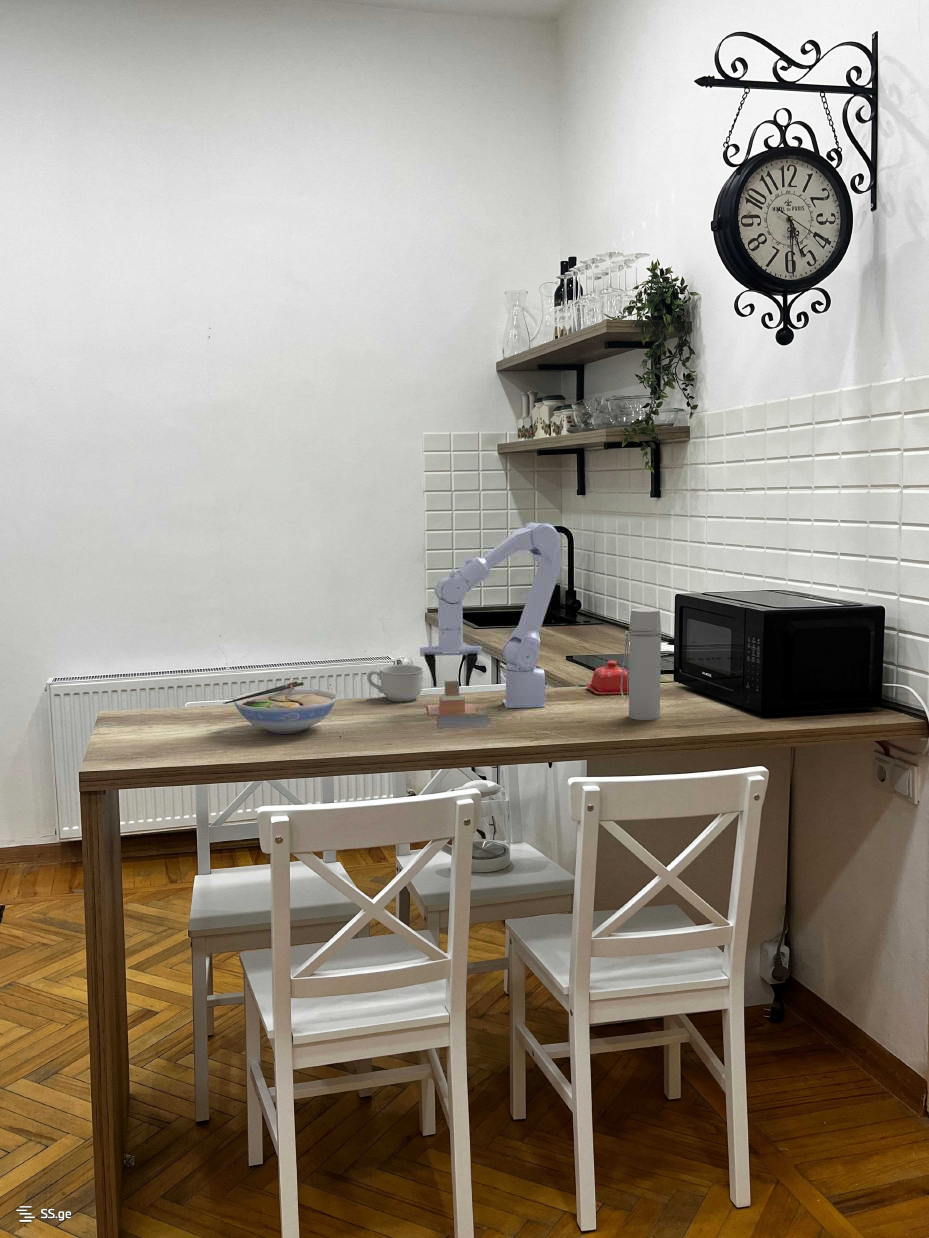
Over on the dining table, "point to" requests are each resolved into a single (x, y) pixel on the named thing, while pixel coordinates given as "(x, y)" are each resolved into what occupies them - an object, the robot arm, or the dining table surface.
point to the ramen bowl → (285, 707)
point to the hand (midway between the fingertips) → (451, 685)
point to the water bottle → (643, 664)
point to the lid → (452, 691)
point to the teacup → (399, 682)
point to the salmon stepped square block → (451, 708)
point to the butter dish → (608, 680)
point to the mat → (463, 721)
